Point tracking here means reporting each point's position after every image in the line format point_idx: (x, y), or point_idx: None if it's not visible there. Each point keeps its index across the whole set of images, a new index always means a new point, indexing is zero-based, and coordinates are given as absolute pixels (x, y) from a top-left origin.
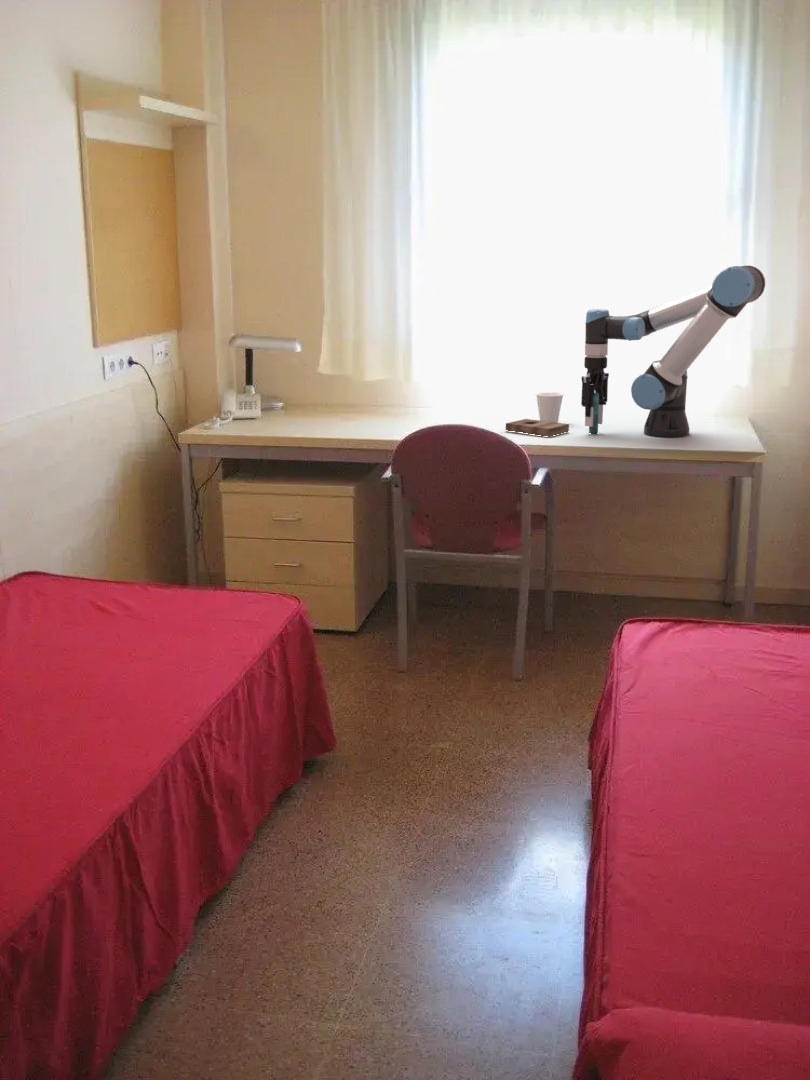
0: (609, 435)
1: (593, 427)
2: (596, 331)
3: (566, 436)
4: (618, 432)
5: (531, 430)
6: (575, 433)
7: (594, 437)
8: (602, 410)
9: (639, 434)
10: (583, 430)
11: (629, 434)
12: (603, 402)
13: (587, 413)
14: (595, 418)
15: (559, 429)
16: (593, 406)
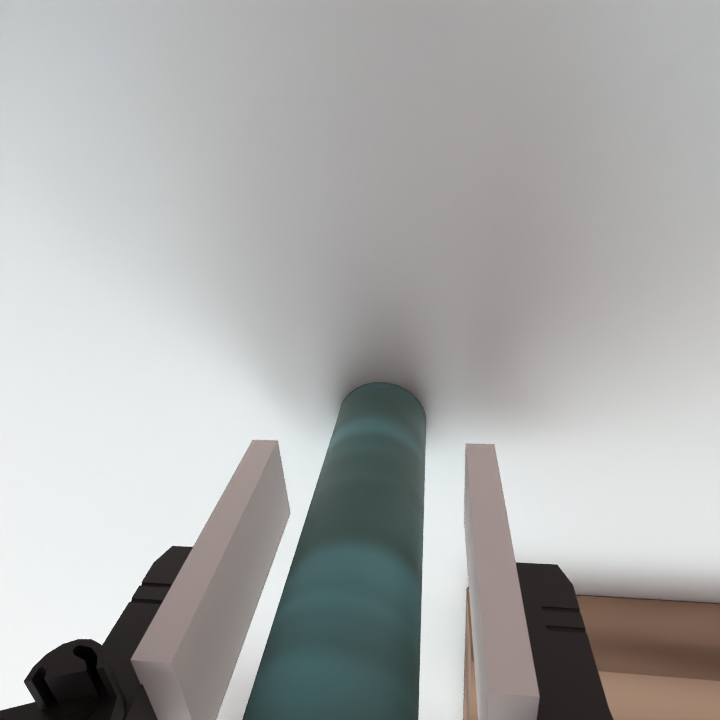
0: (330, 262)
1: (418, 446)
2: None
3: (647, 534)
4: (125, 290)
5: None
6: (455, 542)
7: (546, 318)
8: (188, 574)
9: (11, 15)
10: (290, 554)
11: (112, 119)
12: (80, 713)
13: (576, 630)
14: (396, 509)
15: (635, 644)
16: (410, 717)
